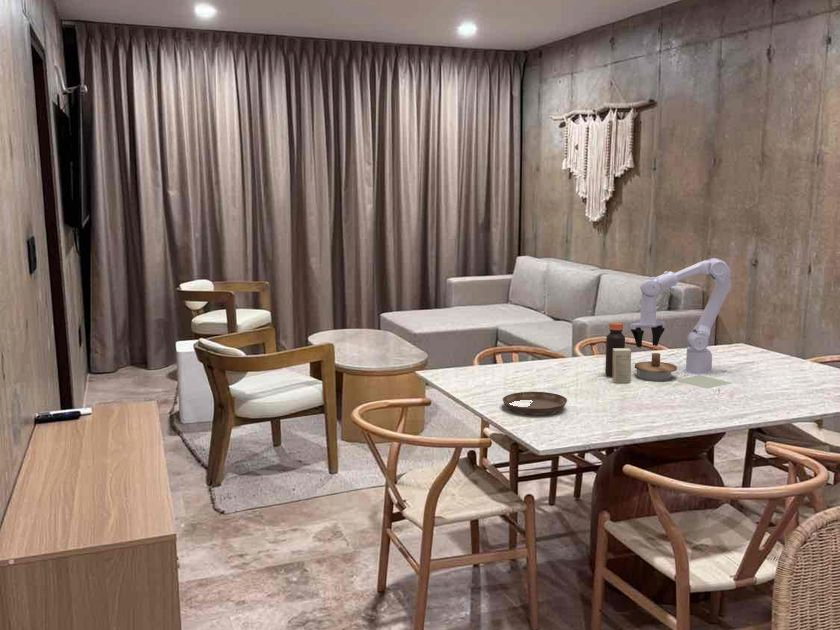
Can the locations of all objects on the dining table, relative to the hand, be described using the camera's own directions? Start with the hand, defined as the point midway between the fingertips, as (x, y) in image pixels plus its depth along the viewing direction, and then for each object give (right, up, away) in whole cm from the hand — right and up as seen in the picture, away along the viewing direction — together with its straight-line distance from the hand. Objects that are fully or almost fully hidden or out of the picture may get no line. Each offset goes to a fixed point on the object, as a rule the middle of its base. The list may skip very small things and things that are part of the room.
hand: (647, 346), depth 300 cm
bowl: (0, -12, -9) cm, 15 cm away
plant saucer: (-50, -19, -47) cm, 71 cm away
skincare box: (-14, -13, -14) cm, 23 cm away
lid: (0, -8, -10) cm, 13 cm away
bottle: (-14, -11, -5) cm, 18 cm away
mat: (+15, -13, -17) cm, 26 cm away
